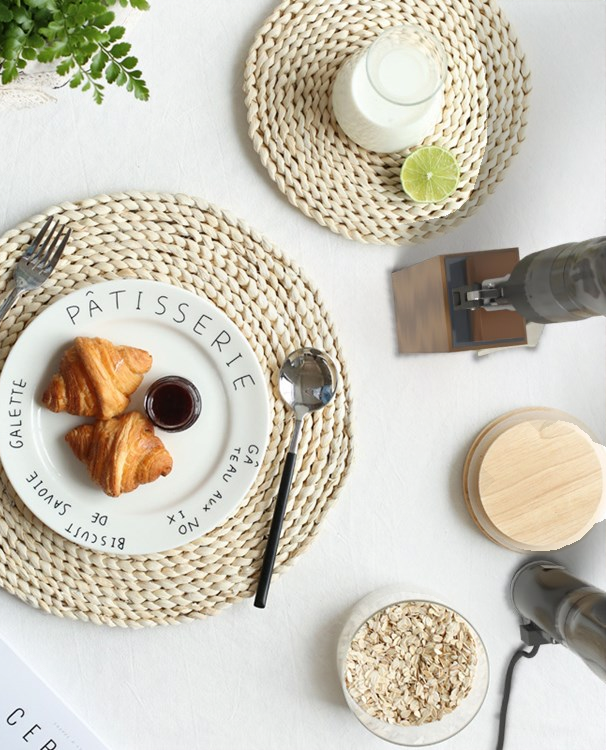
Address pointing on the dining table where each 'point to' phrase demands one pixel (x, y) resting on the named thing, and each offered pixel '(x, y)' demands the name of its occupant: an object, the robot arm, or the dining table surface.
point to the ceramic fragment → (532, 338)
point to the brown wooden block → (498, 321)
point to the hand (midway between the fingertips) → (497, 296)
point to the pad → (460, 317)
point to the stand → (430, 307)
